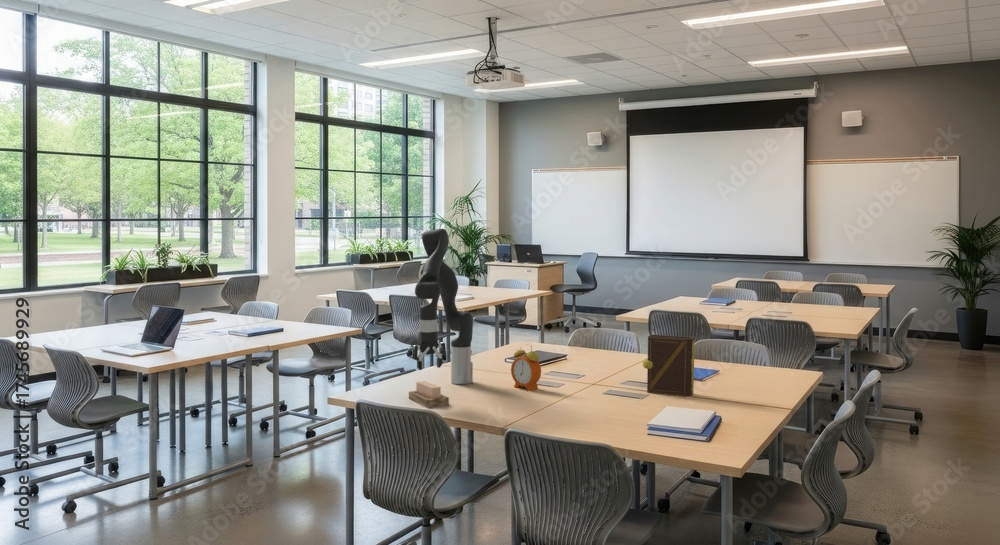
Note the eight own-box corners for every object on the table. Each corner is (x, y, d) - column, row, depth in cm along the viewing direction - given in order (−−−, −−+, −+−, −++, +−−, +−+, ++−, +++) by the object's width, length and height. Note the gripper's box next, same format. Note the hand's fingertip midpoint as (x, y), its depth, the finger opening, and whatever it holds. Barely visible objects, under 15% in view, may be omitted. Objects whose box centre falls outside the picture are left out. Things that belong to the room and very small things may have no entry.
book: (694, 393, 338) (695, 336, 336) (690, 397, 330) (692, 339, 329) (645, 388, 347) (645, 333, 345) (640, 392, 339) (641, 336, 338)
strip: (424, 394, 329) (424, 381, 329) (440, 401, 317) (440, 387, 317) (416, 396, 327) (416, 382, 326) (431, 402, 315) (431, 388, 315)
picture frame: (430, 396, 332) (430, 389, 332) (448, 404, 317) (448, 397, 316) (408, 398, 327) (408, 391, 327) (426, 407, 312) (426, 400, 311)
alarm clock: (510, 387, 350) (510, 343, 349) (519, 385, 355) (519, 341, 353) (532, 391, 341) (532, 346, 340) (541, 389, 346) (541, 345, 344)
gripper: (440, 327, 327) (440, 365, 328) (409, 330, 319) (410, 369, 321) (448, 329, 320) (448, 368, 321) (416, 332, 313) (417, 372, 314)
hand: (429, 368), depth 321 cm, fingers open, 8 cm apart
